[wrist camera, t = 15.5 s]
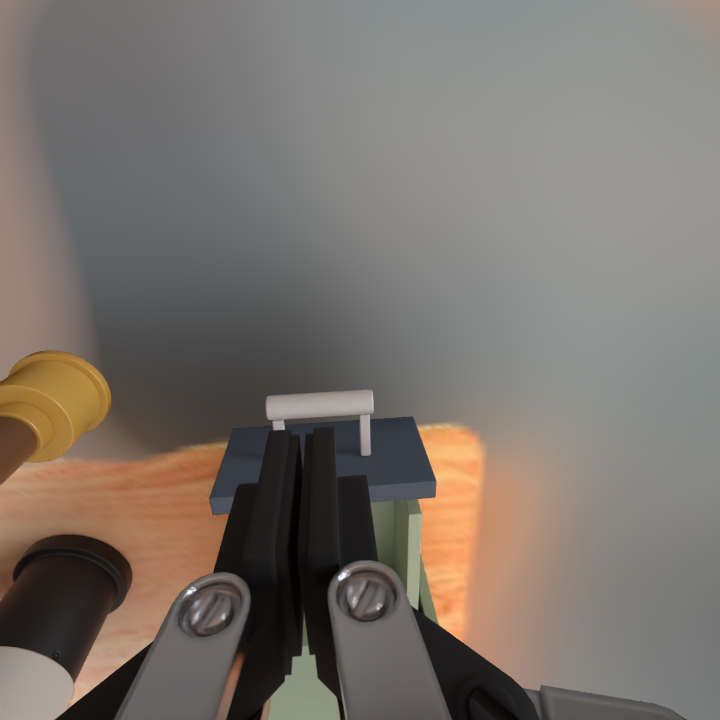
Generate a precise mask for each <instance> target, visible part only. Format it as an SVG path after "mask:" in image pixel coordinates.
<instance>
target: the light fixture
mask: <svg viewBox="0 0 720 720" xmlns="http://www.w3.org/2000/svg"><path fill="white" fill-rule="evenodd" d="M13 582H14V584H13V585H12V586H11V588H10V589H9V590H8V592H7V593H6V594H5V596H4V597H3V598H2V600H1V601H0V720H55V719H56V718H57V717H59V716H60V715H61V714H62V713H64V712H65V711H66V710H67V709H68V707H69V705H70V703H71V700H72V698H73V695H74V683H75V681H76V679H77V677H78V675H79V673H80V671H81V669H82V666H83V664H84V662H85V660H86V658H87V656H88V654H89V652H90V650H91V648H92V646H93V644H94V642H95V640H96V638H97V636H98V634H99V631H100V629H101V627H102V625H103V623H104V621H105V619H106V617H107V615H108V614H109V613H111V612H113V611H114V610H116V609H117V608H118V607H119V606H120V605H121V604H122V602H123V601H124V599H125V597H126V595H127V593H128V591H129V588H130V586H131V582H132V573H131V569H130V567H129V565H128V563H127V561H126V560H125V559H124V557H123V556H122V555H121V554H120V553H118V552H117V551H116V550H115V549H113V548H112V547H110V546H108V545H107V544H105V543H103V542H100V541H98V540H95V539H92V538H88V537H83V536H75V535H61V536H54V537H49V538H46V539H43V540H41V541H39V542H37V543H36V544H34V545H33V546H31V547H30V548H29V549H28V550H27V552H26V553H25V554H24V555H23V557H22V558H21V559H20V561H19V562H18V563H17V565H16V567H15V569H14V573H13Z"/></svg>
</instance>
